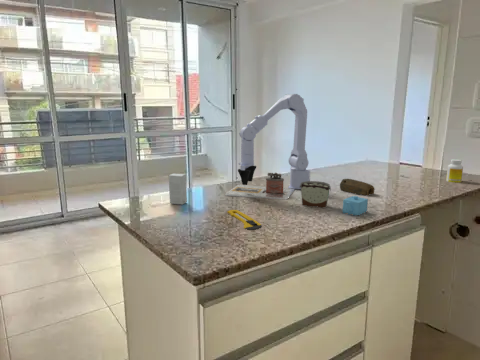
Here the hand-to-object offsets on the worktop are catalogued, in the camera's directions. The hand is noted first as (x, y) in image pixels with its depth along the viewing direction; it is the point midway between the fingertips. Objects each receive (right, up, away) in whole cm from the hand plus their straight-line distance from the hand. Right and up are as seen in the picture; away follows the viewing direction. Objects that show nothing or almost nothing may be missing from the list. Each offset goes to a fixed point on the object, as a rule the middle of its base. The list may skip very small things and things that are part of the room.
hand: (247, 182), depth 169 cm
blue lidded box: (+38, -12, -34) cm, 53 cm away
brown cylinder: (+49, -6, -3) cm, 49 cm away
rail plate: (+6, -5, -1) cm, 8 cm away
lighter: (+12, -5, -3) cm, 14 cm away
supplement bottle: (+104, -1, +15) cm, 105 cm away
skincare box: (-29, -8, -16) cm, 34 cm away
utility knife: (-3, -14, -39) cm, 42 cm away
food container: (+27, -10, -22) cm, 36 cm away
